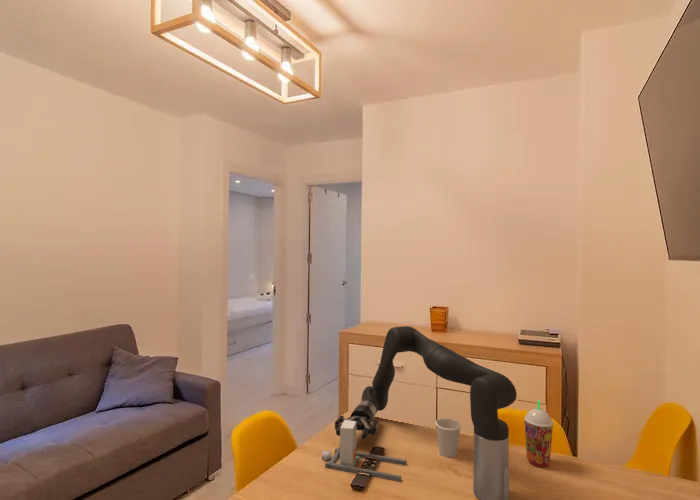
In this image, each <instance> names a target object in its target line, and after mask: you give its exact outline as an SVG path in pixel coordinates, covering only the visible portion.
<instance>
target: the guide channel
mask: <svg viewBox="0 0 700 500" xmlns="http://www.w3.org/2000/svg"><path fill="white" fill-rule="evenodd" d="M367 457H375V458H378V459H379V460H380V461H379V462H384V463H389V464H393V465H394V464H395V465H399V466H400V465H401V466H407V463H408V462H407V461H408V460H407V459H401V458H397V457H396V458H395V457H392V456H391V457H390V456H384V455H379V454H378V455H377V454H371V453H366V452H362V451H356V458H355V461H354V463H353V466H352V467H351V466H346V465H340V461H339V462H338V463H336V462H337V460H338V459H339V458H340V448H337V447H336V448H335V449H334V454H333V456H332V451H331V450H329V449H325V450H322V451H321V460H322V461H325V463H324V468H327V469H331V470H337V471H342V472H347V473H353V474H358V473H357V472H359V471H363V472H368V473H370V474H371V475H372V476H371V477H375V478H379V479H386V480H390V481H395V482H400V483H401V482H402V475H399V474H393V473H389V472H383V471H378V470H371V469H367V468H361V467H355V465H356V464H357V462H358V461H359V459H360V458H362V459H366V458H367Z"/></svg>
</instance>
